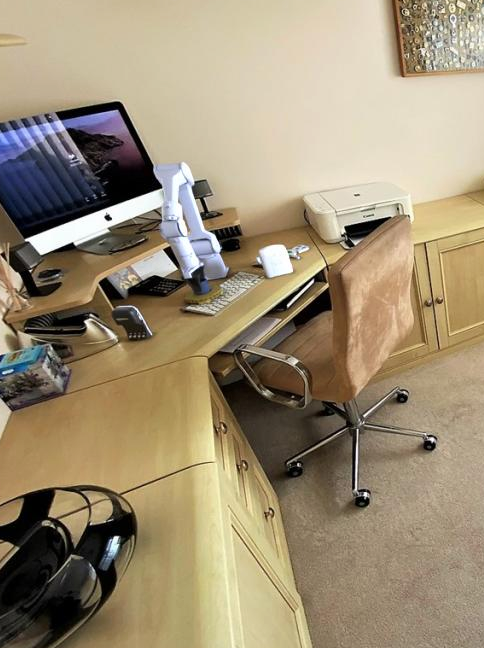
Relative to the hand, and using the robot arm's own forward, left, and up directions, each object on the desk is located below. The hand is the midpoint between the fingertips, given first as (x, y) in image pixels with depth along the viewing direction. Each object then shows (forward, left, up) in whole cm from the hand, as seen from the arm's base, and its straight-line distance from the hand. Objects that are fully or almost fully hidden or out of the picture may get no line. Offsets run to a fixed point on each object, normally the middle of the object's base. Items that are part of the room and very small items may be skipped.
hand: (200, 287), depth 158 cm
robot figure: (-28, +27, -4) cm, 39 cm away
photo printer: (-9, +26, -4) cm, 28 cm away
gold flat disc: (0, 0, -4) cm, 4 cm away
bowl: (0, 0, -2) cm, 2 cm away
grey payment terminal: (+23, -15, -4) cm, 28 cm away
